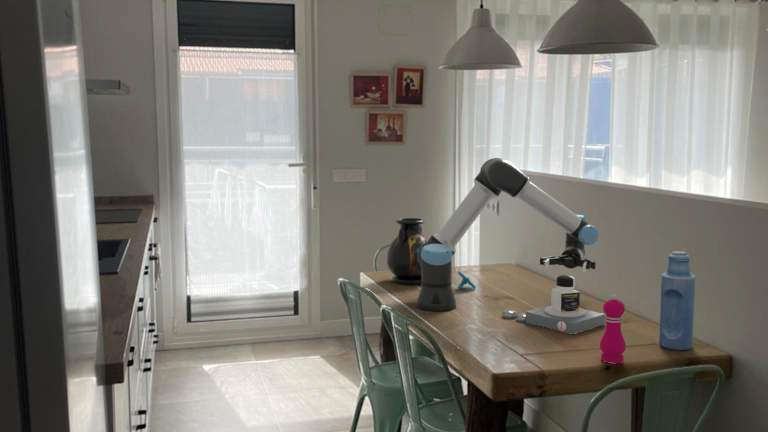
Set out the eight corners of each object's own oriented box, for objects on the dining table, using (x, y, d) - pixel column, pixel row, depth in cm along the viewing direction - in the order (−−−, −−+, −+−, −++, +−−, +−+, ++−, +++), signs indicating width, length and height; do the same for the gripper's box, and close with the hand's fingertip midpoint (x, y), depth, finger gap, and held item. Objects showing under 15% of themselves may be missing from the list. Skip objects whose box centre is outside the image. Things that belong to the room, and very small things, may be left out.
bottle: (696, 345, 221) (701, 251, 218) (685, 353, 214) (690, 255, 210) (665, 339, 228) (669, 248, 224) (654, 347, 220) (658, 252, 217)
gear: (478, 287, 296) (461, 271, 296) (469, 297, 296) (452, 281, 296) (474, 285, 308) (458, 269, 307) (465, 295, 307) (448, 279, 307)
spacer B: (524, 323, 249) (525, 318, 248) (513, 320, 252) (513, 315, 252) (533, 320, 252) (533, 315, 252) (522, 318, 256) (522, 312, 255)
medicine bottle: (560, 313, 242) (561, 278, 240) (550, 308, 249) (551, 274, 247) (579, 311, 244) (580, 277, 242) (568, 306, 251) (569, 273, 249)
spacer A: (510, 319, 254) (510, 314, 253) (499, 317, 257) (499, 311, 257) (519, 317, 257) (519, 311, 257) (508, 314, 261) (508, 309, 260)
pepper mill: (594, 360, 208) (596, 294, 205) (606, 355, 213) (609, 290, 210) (617, 366, 203) (620, 298, 200) (629, 360, 208) (632, 294, 205)
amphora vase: (420, 288, 302) (420, 224, 299) (377, 283, 313) (377, 221, 309) (442, 279, 321) (442, 218, 317) (400, 274, 331) (400, 215, 328)
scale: (572, 335, 233) (572, 320, 233) (524, 322, 249) (524, 309, 248) (604, 325, 245) (605, 311, 244) (557, 313, 260) (557, 300, 260)
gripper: (604, 269, 272) (599, 280, 253) (539, 264, 281) (529, 274, 262) (605, 250, 271) (600, 259, 252) (539, 245, 280) (530, 254, 261)
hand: (564, 267), depth 257 cm, fingers open, 13 cm apart
